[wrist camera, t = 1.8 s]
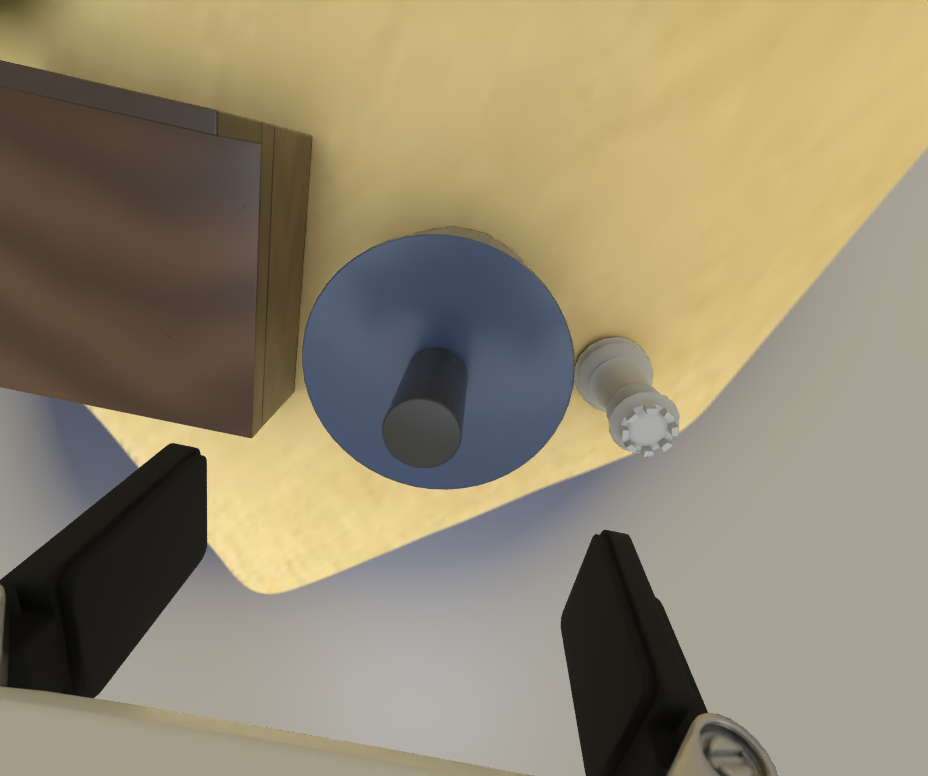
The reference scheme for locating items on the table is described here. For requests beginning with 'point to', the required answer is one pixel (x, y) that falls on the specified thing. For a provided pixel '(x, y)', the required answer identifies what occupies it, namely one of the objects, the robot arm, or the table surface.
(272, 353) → the shelf
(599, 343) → the rook chess piece
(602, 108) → the table surface
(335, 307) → the lid
